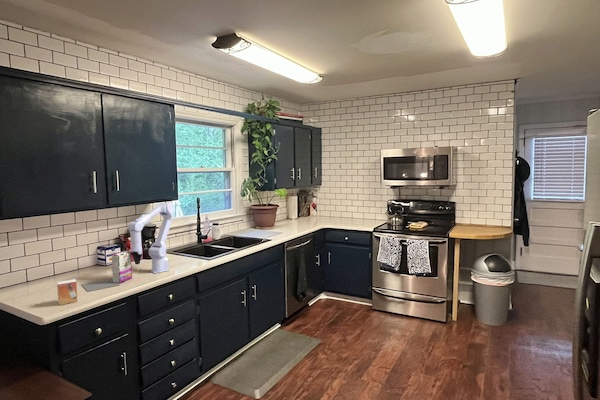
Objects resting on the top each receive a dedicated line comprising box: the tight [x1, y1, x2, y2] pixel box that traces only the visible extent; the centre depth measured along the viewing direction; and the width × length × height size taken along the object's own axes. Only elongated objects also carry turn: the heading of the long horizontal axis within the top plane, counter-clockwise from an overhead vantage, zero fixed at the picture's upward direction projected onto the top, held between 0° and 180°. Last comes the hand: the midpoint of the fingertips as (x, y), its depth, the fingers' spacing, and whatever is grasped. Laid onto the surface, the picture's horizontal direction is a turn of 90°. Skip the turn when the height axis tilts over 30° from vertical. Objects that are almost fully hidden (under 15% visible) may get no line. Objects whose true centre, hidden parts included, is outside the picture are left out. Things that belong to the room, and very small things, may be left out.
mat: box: [81, 278, 120, 293], centre depth 212 cm, size 16×16×1 cm
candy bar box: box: [111, 250, 133, 284], centre depth 218 cm, size 11×5×16 cm, turn 168°
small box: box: [56, 278, 78, 306], centre depth 185 cm, size 8×6×10 cm
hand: (137, 264), depth 224 cm, fingers closed
